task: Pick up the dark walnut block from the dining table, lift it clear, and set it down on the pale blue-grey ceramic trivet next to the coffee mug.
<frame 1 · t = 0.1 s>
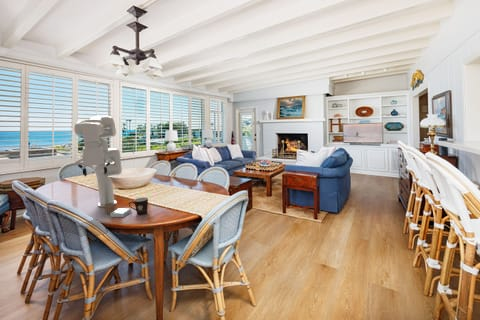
hand: (95, 174, 130), 31 cm above the table, fingers open, 9 cm apart
trivet: (121, 214, 153), on the table
coffee mug: (140, 213, 154), on the table
walnut block: (110, 212, 157), on the table
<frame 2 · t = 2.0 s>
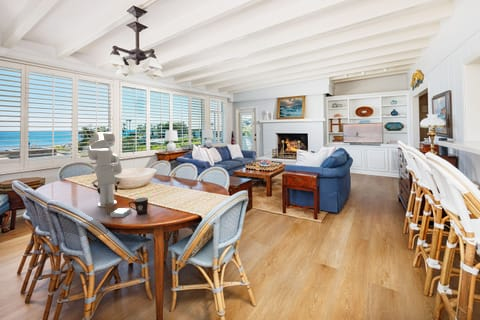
hand: (108, 192, 154), 14 cm above the table, fingers open, 9 cm apart
nothing on the table moved.
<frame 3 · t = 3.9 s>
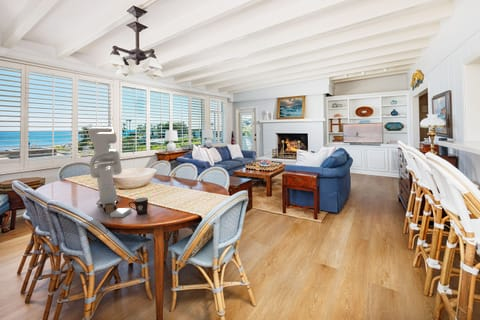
hand: (110, 211, 157), 1 cm above the table, fingers closed on walnut block, 5 cm apart
walnut block: (110, 212, 157), on the table, touching gripper
everything else where it was.
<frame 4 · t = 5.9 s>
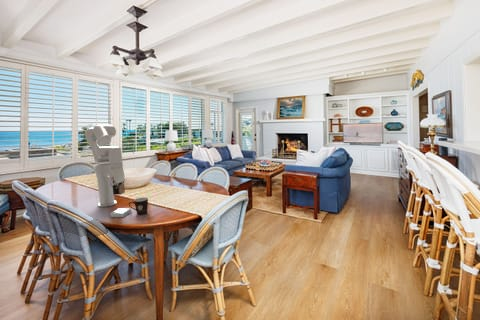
hand: (119, 192, 151), 15 cm above the table, fingers closed on walnut block, 5 cm apart
walnut block: (119, 193, 151), point 15 cm above the table, touching gripper
everything else where it was.
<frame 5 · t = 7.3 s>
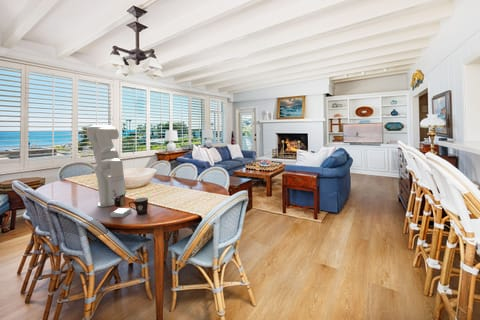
hand: (120, 204, 152), 7 cm above the table, fingers closed on walnut block, 5 cm apart
walnut block: (120, 205, 152), point 6 cm above the table, touching gripper
everything else where it was.
when the fingers open (5 cm above the table, at t = 8.1 s): walnut block drops 1 cm, resting on trivet.
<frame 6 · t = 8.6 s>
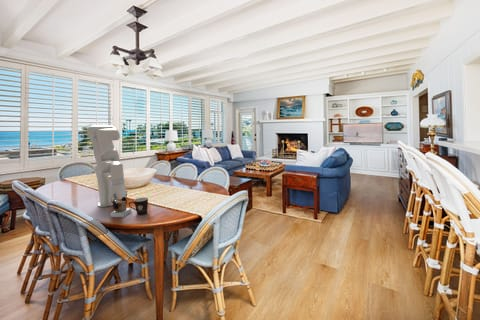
hand: (120, 206, 152), 5 cm above the table, fingers open, 9 cm apart
walnut block: (120, 210, 153), point 3 cm above the table, touching trivet
everything else where it was.
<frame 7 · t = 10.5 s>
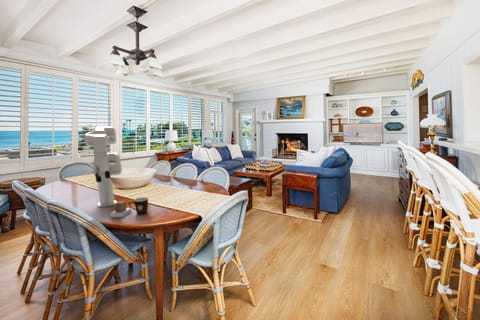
hand: (103, 180, 151), 24 cm above the table, fingers open, 9 cm apart
nothing on the table moved.
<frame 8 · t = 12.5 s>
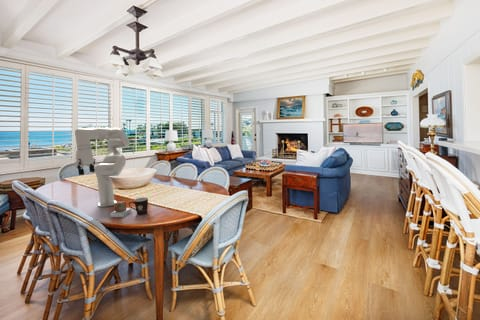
hand: (87, 173, 151), 28 cm above the table, fingers open, 9 cm apart
nothing on the table moved.
at the end: walnut block inside the target area on the trivet (0.0 cm from its centre), point 2.6 cm above the trivet's base; walnut block tilted 0°; the gripper is holding nothing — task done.
